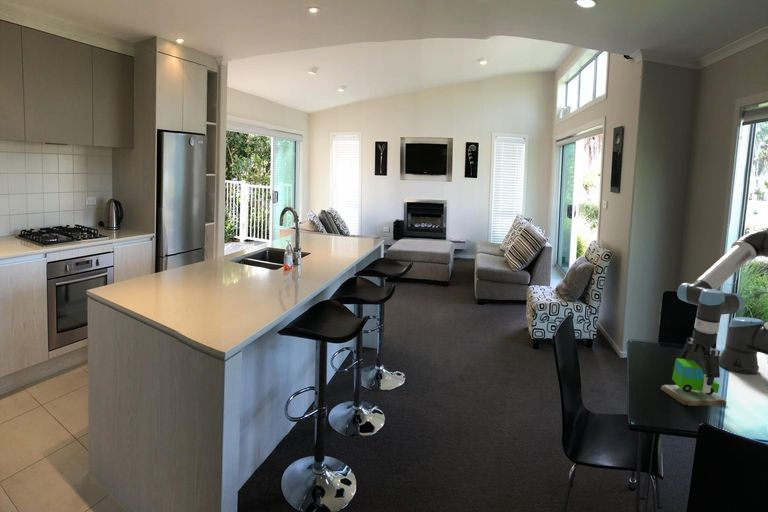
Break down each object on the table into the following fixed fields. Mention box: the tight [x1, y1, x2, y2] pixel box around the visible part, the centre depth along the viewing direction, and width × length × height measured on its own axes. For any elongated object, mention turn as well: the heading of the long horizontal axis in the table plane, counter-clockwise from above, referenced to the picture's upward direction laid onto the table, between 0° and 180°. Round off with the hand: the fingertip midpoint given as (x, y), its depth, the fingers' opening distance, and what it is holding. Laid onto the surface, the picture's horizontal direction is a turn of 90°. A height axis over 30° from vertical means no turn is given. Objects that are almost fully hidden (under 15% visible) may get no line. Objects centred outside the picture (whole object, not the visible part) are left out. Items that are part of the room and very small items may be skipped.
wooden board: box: [660, 384, 727, 406], centre depth 188 cm, size 17×13×2 cm
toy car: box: [671, 357, 720, 395], centre depth 186 cm, size 10×13×10 cm
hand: (694, 385), depth 187 cm, fingers closed on toy car, 10 cm apart
